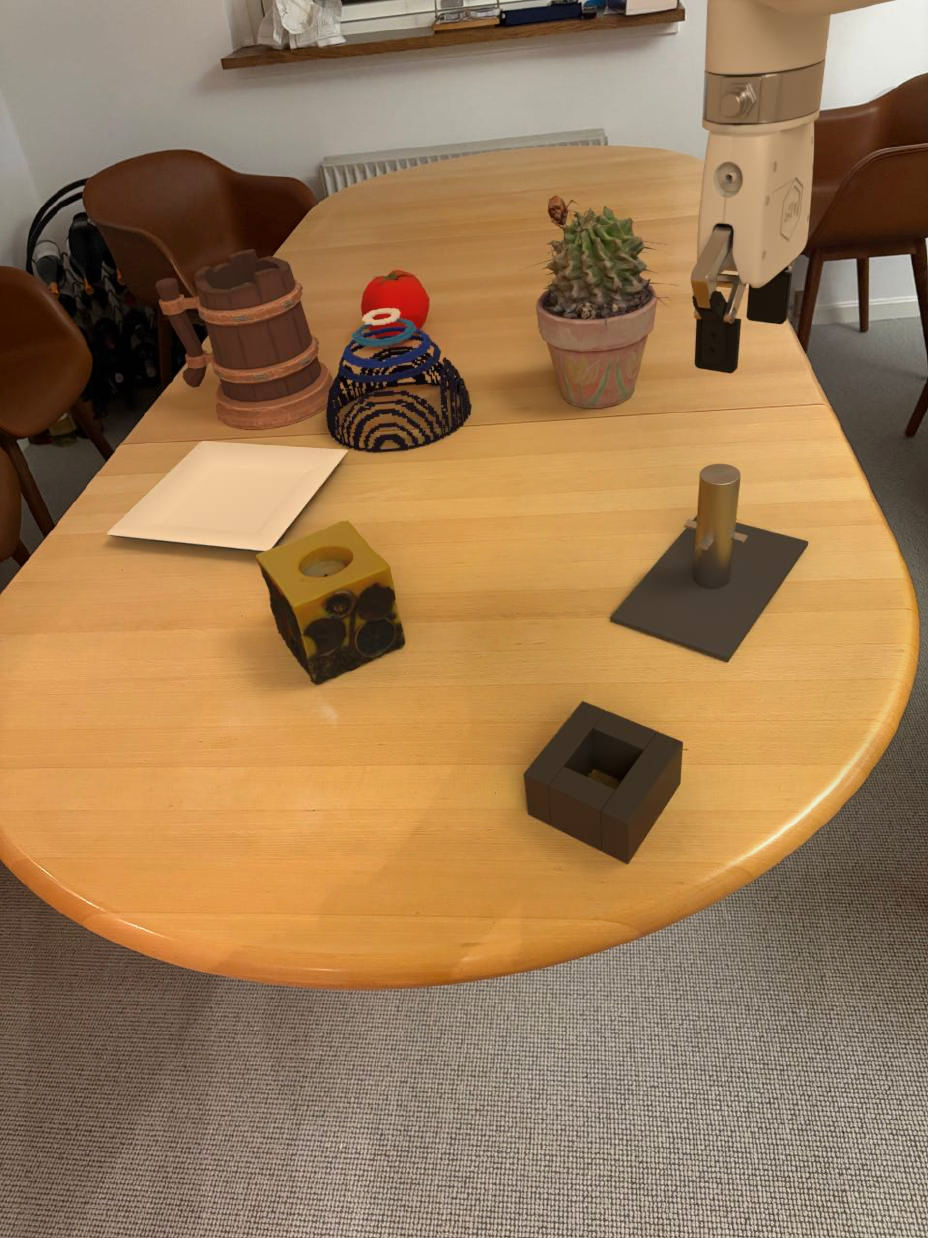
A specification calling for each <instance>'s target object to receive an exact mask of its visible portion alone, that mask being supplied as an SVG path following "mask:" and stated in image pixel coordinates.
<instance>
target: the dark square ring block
mask: <svg viewBox="0 0 928 1238" xmlns="http://www.w3.org/2000/svg"><path fill="white" fill-rule="evenodd" d="M683 751H684V741H683V740H680V739H677V738H675V737H673V736H671V735H667V734H665V733H662V732H660V731H657V730H656V729H653V728H650V727H648V726H646V725H643V724H641V723H638V722H636V721H633V720H631V719H628V718H626V717H624V716H621V715H618V714H616V713H613V712H611V711H609V710H606V709H604V708H601V707H599V706H596V705H594V704H591V703H590V702H587V701H584V700H581V702H580V703H579V704H578V705H577V707H576V708H575V709H574V710H573V712H572V713H570V715H569V717H567V719H566V721H565V722H564V723H563V724H562V726H561V727H560V728H559V729H558V730H557V731H556V733H555V734H554V735H553V737H552V738H551V739H550V740H549V742H548V743H547V744H546V745H545V746H544V748H543V749H542V750H541V751H540V753H539V754H537V756H536V758H535V759H534V760H533V761H532V763H530V765H529V766H528V767H527V769H526V770H525V771H524V772H523V784H524V793H525V799H526V800H525V801H526V808H527V815H528V816H530V817H531V818H534V819H537V820H538V821H540V822H542V823H544V824H546V825H548V826H550V827H552V828H554V829H555V830H557V831H559V832H561V833H563V834H566V835H568V836H570V837H571V838H574V839H575V840H578V841H579V842H582V843H583V844H586V845H587V846H589V847H591V848H594V849H596V850H597V851H599V852H602V853H604V854H606V855H608V856H610V857H612V858H614V859H616V860H618V861H620V862H622V863H624V864H626V865H628V864H630V862H631V861H632V859H633V858H634V856H635V855H636V853H637V851H638V850H639V849H640V847H641V845H642V844H643V842H644V841H645V839H646V838H647V836H648V835H649V833H650V831H651V830H652V828H653V827H654V825H655V824H656V822H657V821H658V819H659V817H660V816H661V814H662V813H663V811H664V810H665V808H666V807H667V805H668V804H669V802H670V801H671V799H672V798H673V796H674V795H675V793H676V792H677V790H678V788H679V787H680V785H681V783H682V780H681V779H682V769H683V768H682V767H683V765H682V764H683V753H684V752H683ZM594 770H595V771H597V772H600V773H602V774H604V775H606V776H608V777H610V778H613V779H615V780H618V781H620V783H619V784H618V785H617V787H616V789H614V788H612V787H610V786H608V785H606V784H604V783H601V782H600V781H597V780H595V779H592V778H591V777H589V776H590V775H591V774H592V772H593V771H594Z"/></svg>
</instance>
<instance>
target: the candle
mask: <svg viewBox="0 0 928 1238" xmlns="http://www.w3.org/2000/svg"><path fill="white" fill-rule="evenodd" d="M255 559H256V562H257V565H258V567H259V569H260V573H261V576H262V578H263V580H264V582H265V585H266V587H267V589H268V596H269V605H270V610H271V613H272V616H273V619H274V621H275V625H276V630H277V632H278V633H277V634H279V635H280V636H281V638H282V640H283V641H284V643H285V645H286V647H287V648H288V649H289V650H290V652H291V655H292V656H293V657H294V658H295V659H296V662H297V663H299V664H300V667H302V668H303V670H304V671H305V672H306V674H308V676H309V678H310V682H312V683H313V684H314V685H322V684H324V682H327V681H330V680H332V679H336V678H337V677H338V676H340V675H343V674H344V673H346V672H351V671H354V670H356V669H358V668H359V667H361V666H363V665H366V664H368V663H369V662H372V661H374V660H376V659H379V658H381V657H383V656H384V655H386V654H389V653H391V652H393V651H396V650H399V649H401V648H403V647H404V646H405V644H406V638H405V634H404V629H403V624H402V621H401V619H400V616H399V608H398V605H397V602H396V601H397V596H396V591H395V584H394V578H393V574H392V569H391V565H390V564H389V563H388V562H387V560H385V559H384V557H382V556H381V555H380V554H379V553H378V552H376V550H374V549H373V548H372V547H371V546H370V544H369V543H368V542H367V541H366V540H365V539H364V537H362V535H361V534H360V533H359V532H358V530H357V529H356V528H355V527H354V525H353V524H352V523H351V522H350V521H349V520H341V521H339V522H336V523H335V524H333V525H330V526H328V527H326V528H323V529H319V530H317V531H314V532H311V533H310V534H307V535H304V536H302V537H300V538H297V539H294V540H292V541H291V540H290V541H289V542H286V543H283V544H280V545H278V546H274V547H273V548H272V549H270V550H267V551H264V552H258V553H257V554H256V555H255Z"/></svg>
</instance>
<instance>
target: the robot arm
mask: <svg viewBox="0 0 928 1238" xmlns="http://www.w3.org/2000/svg"><path fill="white" fill-rule="evenodd" d="M706 1H707V2H706V26H705V27H706V29H705V51H704V52H705V53H704V70H703V71H704V72H703V93H702V117H701V118H702V119H701V120H702V121H701V126H702V128H703V129H704V130H706V131H708V136H707V142H706V149H705V158H704V164H703V172H702V180H701V189H700V201H699V202H700V203H699V210H698V211H699V212H698V222H697V238H696V239H697V241H696V242H697V243H696V264H694V265H695V266H694V267H693V269H692V271H691V274H690V284H691V285H690V286H691V289H692V293H693V295H692V297H691V298H692V305H693V307H694V312H693V316H694V319H695V320H696V322H695V342H694V343H695V344H694V367H696V368H697V369H700V370H706V371H713V372H719V373H724V374H733V373H734V372H735V371H736V370H738V366H739V355H740V354H739V353H740V341H741V328H742V318H738V317H737V315H738V312H739V309H740V306H741V303H742V299H743V296H744V293H745V290H746V286H747V285H748V291H747V293H748V294H747V305H746V314H745V315H746V319H747V320H748V321H750V322H758V323H765V324H774V325H783V324H784V323H785V322H786V321H787V320H788V313H789V306H790V296H791V287H792V279H793V272H791V271H792V270H793V268H794V265H795V261H796V258H797V257H798V256H799V255H801V253H802V252H803V251H804V249H805V248H806V246H807V243H808V237H809V229H810V215H811V203H812V191H813V190H812V189H813V174H814V159H815V158H814V154H815V121H817V120H818V119H819V117H820V111H821V102H822V95H823V84H824V76H825V68H826V58H827V57H826V56H827V49H828V39H829V32H830V25H831V16H832V15H838V14H842V13H846V12H850V11H856V10H860V9H864V8H869V7H873V6H875V5H880V4H885V3H889V2H895V1H896V0H706ZM725 271H726V272H737V274H732V273H731V274H730V273H724V272H725ZM717 288H725V289H730V292H729V295H728V298H727V300H726V297H725V296H724V295H723V293H722V291H719V290H717Z"/></svg>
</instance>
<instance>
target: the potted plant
mask: <svg viewBox="0 0 928 1238" xmlns="http://www.w3.org/2000/svg"><path fill="white" fill-rule="evenodd" d="M572 203H575V204H576V205H579V206H580V204H579V203H578V202H576V201H574V200H573V199H570V201H569V202H568V204H567V205H566V203H565V200H564V199H563V198H562V197H560V196H558V195H554V196H552V197H550V198H549V199H548V203H547V214H548V216H549V217H550V222H551V223H552V224H554V225H555V226H556V227H558V228H559V229H560V230H562V232H563V238H562V240H555V239H552V240H551V241H550V242H548V243H547V242H546V245H549V246H551V247H550V249H551V251H548V252H547V254H550V253H551V257H552V258H551V259H548V260H546V261H545V260H544V261H543V262H539V263H535V264H532V265H529V266H526V267H523V268H521V269H518V270H516V271H517V272H518V271H520V270H524V269H527V268H529V267H533V266H536V265H540V264H544V263H547V262H548V263H547V266H545V267H543V268H541V269H539V271H541V270H544V269H545V270H546V269H548V270H550V271H551V272H550V273H547V274H546V276H548V275H553V274H554V275H555V277H554V278H553V279H552V280H551V282H550V283H549V282H547V286H545V287H544V290H545V291H543V292H542V293H541V295H540V296H539V297H538V298H537V300H536V303H535V311H536V317H537V323H538V330H539V335H540V337H541V338H542V341H544V342H545V343H546V345H547V348H548V352H549V356H550V359H551V362H552V365H553V369H554V373H555V376H556V379H557V382H558V385H559V388H560V392H561V395H562V398H563V400H564V401H565V402H566V403H568V404H569V405H571V406H574V407H577V408H582V409H591V410H592V409H594V410H598V409H603V408H604V409H605V408H610V407H613V406H618V405H622V404H623V403H624V402H626V401H627V400H630V399H631V397H632V396H633V394H634V392H635V390H636V389H635V388H636V385H637V381H638V377H639V373H640V369H641V365H642V361H643V357H644V352H645V349H646V345H647V341H648V338H649V335H650V334H651V333H652V332H654V327H655V320H656V312H657V306H658V305H657V304H658V301H660V302H661V303H663V300H662V299H669V301H671V299H670V298H669V297H668V296H664V297H663V296H660V297H658V293H657V292H656V290H655V288H654V286H653V285H656V284H657V285H658V284H659V285H660V284H661V285H662V284H663V285H665V284H666V283H664V282H663V283H662V282H651V280H652V279H651V278H648V279H646V278H643V277H642V276H641V275H640V274H641V273H643V272H645V273H647V274H648V272H652V273H654V274H657V275H659V273H657V272H656V271H652V270H651V269H647V267H648V265H647V263H645V262H644V260H642V259H641V258H640V257H639V256H638V255H640V254H641V253H644V254H647V252H646V251H643V250H644V249H645V250H654V251H657V249H656V248H651V247H649V246H645V243H648V241H647V240H643V237H641V236H635V234H634V230H633V225H634V224H633V223H634V221H633V220H634V219H632V217H631V216H629V217H628V218H622V219H618V218H616V217H615V215H614V212H613V210H612V209H611V208H608V207H607V206H605V205H604V207H603V210H602V214H599V215H596V213H595V212H594V211H593V209H592V208H591V207H589V210H588V209H587V210H586V211H585V212H584V214H583V215H582V214H581V213H579V212H578V211H575V210H572V211H571V209H570V208H569V206H570V205H571V204H572ZM568 208H569V209H568ZM571 212H573V213H574V214H573V219H572V217H570V218H571V223H570V225H567V220H568V214H570V216H572V213H571ZM574 218H576V220H575V219H574ZM649 243H652V244H654V241H649ZM658 244H659V245H662V243H661V242H660V243H659V242H657V245H658ZM665 245H666V246H667V245H669V244H667V243H665ZM658 251H660V252H661V250H660V249H658ZM554 252H555V253H556V254H555V255H554ZM665 253H667V254H668V252H666V251H665ZM669 285H672V286H675V284H673V283H671V284H670V283H669ZM676 286H678V287H680V284H679V285H678V284H676ZM664 305H665V306H667V304H666V303H664ZM667 307H668V308H669V306H667Z"/></svg>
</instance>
